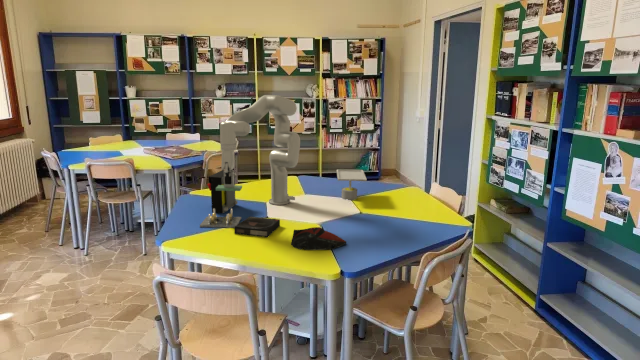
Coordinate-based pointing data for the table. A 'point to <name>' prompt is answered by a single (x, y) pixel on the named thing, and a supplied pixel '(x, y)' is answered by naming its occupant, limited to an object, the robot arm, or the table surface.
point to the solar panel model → (350, 176)
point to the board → (221, 188)
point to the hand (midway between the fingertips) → (229, 182)
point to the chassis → (220, 220)
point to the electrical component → (221, 193)
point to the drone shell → (315, 239)
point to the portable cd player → (257, 226)
